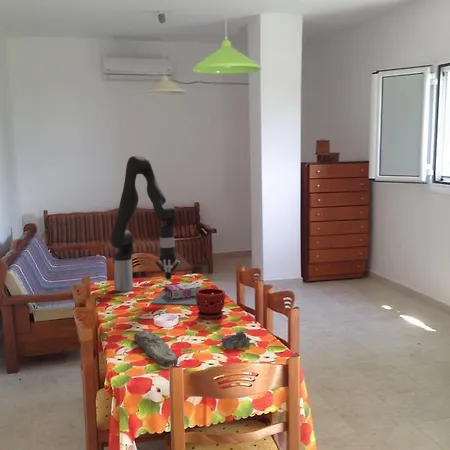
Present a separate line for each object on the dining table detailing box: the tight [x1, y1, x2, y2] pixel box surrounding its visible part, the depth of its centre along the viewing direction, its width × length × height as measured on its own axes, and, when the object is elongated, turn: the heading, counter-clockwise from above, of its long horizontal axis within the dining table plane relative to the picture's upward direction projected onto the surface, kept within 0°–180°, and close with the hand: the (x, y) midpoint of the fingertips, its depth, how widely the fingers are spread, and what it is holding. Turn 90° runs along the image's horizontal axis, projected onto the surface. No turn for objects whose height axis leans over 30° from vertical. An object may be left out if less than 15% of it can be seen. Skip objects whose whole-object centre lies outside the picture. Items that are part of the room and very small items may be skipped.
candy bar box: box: [164, 282, 202, 299], centre depth 280 cm, size 11×5×16 cm
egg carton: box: [220, 330, 251, 350], centre depth 211 cm, size 11×8×4 cm
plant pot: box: [196, 288, 226, 320], centre depth 246 cm, size 13×13×12 cm
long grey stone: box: [133, 330, 179, 368], centre depth 206 cm, size 35×5×10 cm
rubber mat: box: [150, 291, 197, 306], centre depth 276 cm, size 24×20×1 cm
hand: (168, 279), depth 274 cm, fingers closed
